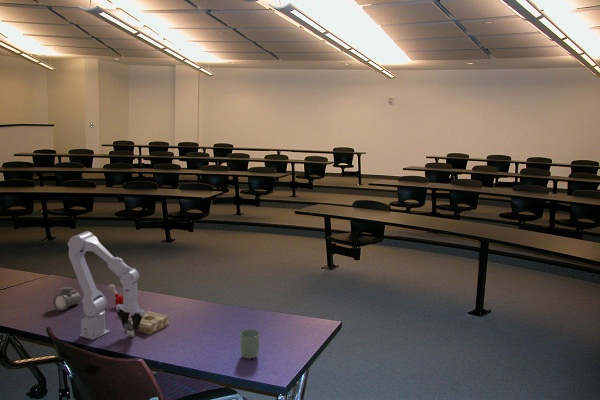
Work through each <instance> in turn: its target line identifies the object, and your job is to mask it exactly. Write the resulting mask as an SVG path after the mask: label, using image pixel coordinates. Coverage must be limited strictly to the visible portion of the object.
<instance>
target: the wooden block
mask: <svg viewBox="0 0 600 400" xmlns="http://www.w3.org/2000/svg"><path fill="white" fill-rule="evenodd" d="M169 318H170V317H169V315H165V314H161V313H157V312H153V311H149V310H147V311H145V315H144V316H143V317H142V319H141V322H140V325H139V329H138V330H136V331H137V332H141V333H144V334H146V335H147V334H148V335H151V334H154V333H156V332H157V331H159V330H162V329H164V328H165V327H167V326H169V325H170V322H169V321H170V320H169ZM129 320H132V318H130V319H129Z"/></svg>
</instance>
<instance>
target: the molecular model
mask: <svg viewBox="0 0 600 400" xmlns="http://www.w3.org/2000/svg"><path fill="white" fill-rule="evenodd" d="M107 291H108V292H110V293H112V294H113V296H114V297H115V301H114V302H115V306H116V305H118V304H123V295H119V293H118V291H117V290H116V286H115V285H114V284H109V285H108V286H107Z"/></svg>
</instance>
